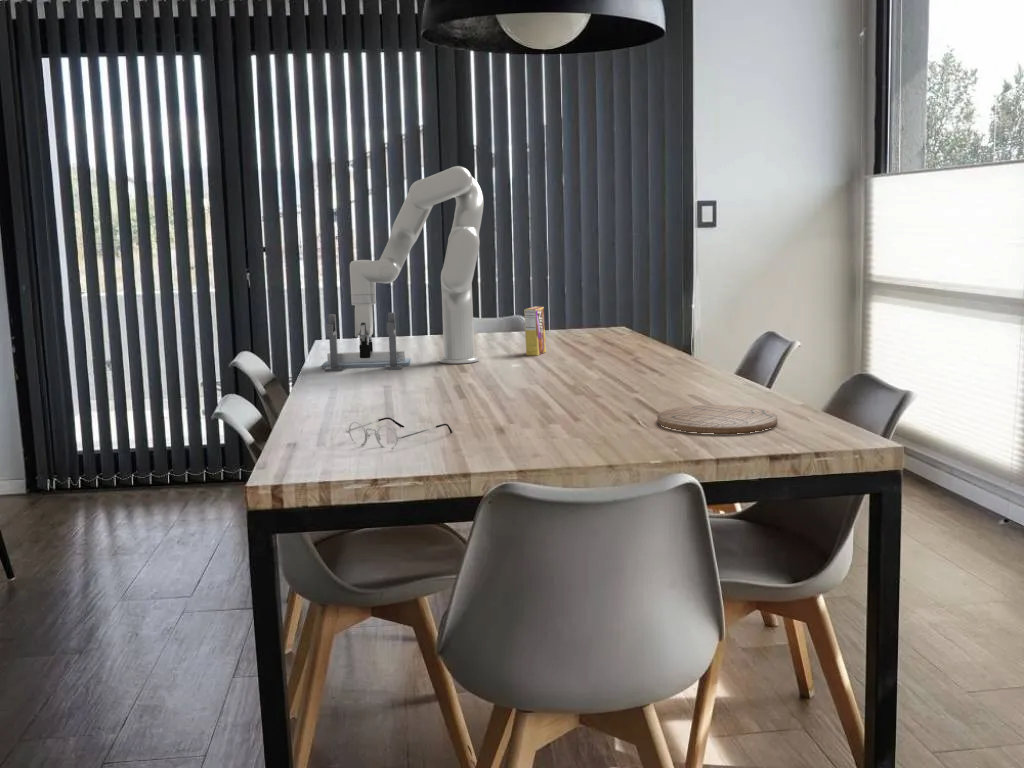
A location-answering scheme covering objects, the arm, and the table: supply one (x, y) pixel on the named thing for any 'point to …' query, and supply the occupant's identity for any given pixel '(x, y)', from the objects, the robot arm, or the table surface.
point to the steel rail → (374, 357)
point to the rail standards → (334, 352)
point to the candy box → (535, 331)
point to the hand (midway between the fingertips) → (366, 355)
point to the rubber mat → (367, 364)
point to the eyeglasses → (389, 427)
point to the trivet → (717, 419)
